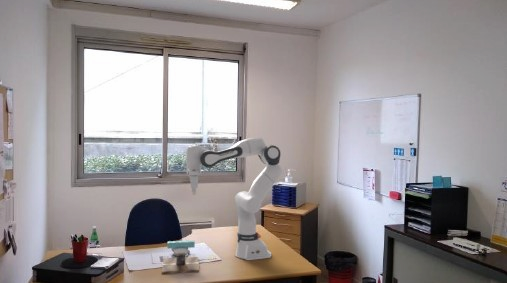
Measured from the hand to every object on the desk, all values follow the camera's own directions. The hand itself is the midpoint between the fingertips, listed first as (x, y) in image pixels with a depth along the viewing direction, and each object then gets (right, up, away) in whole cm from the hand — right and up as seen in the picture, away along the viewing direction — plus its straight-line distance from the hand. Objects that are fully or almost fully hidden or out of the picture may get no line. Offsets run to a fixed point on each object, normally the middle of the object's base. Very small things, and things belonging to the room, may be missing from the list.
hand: (193, 193), depth 229 cm
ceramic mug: (-8, -38, 0) cm, 39 cm away
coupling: (-4, -32, -19) cm, 37 cm away
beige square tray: (-4, -39, -19) cm, 44 cm away
